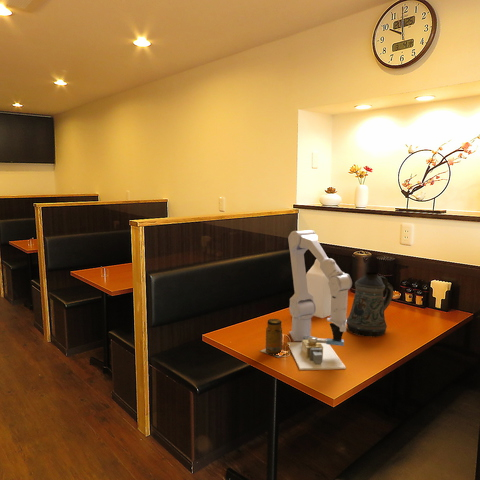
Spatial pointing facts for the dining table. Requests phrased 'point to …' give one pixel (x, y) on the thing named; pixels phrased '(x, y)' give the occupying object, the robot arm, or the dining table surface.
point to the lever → (326, 341)
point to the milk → (319, 290)
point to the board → (328, 361)
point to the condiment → (273, 337)
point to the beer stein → (370, 306)
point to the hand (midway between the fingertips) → (337, 343)
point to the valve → (312, 350)
